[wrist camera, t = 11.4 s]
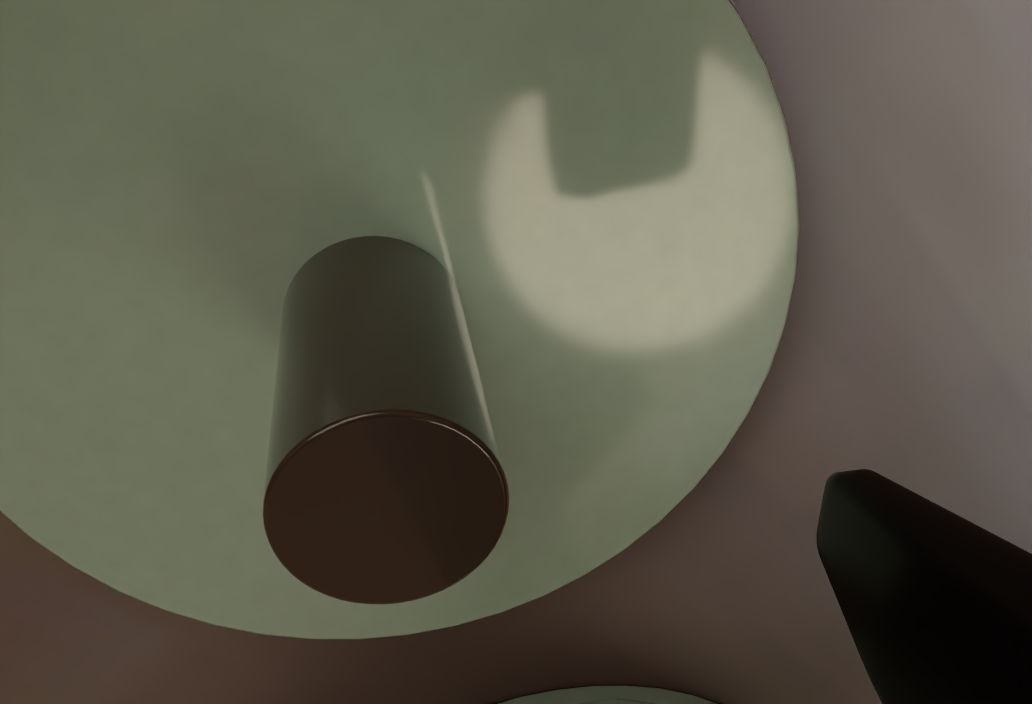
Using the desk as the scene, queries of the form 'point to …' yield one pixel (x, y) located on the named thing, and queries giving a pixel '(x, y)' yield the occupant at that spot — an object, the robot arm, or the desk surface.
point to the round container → (610, 696)
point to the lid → (377, 293)
